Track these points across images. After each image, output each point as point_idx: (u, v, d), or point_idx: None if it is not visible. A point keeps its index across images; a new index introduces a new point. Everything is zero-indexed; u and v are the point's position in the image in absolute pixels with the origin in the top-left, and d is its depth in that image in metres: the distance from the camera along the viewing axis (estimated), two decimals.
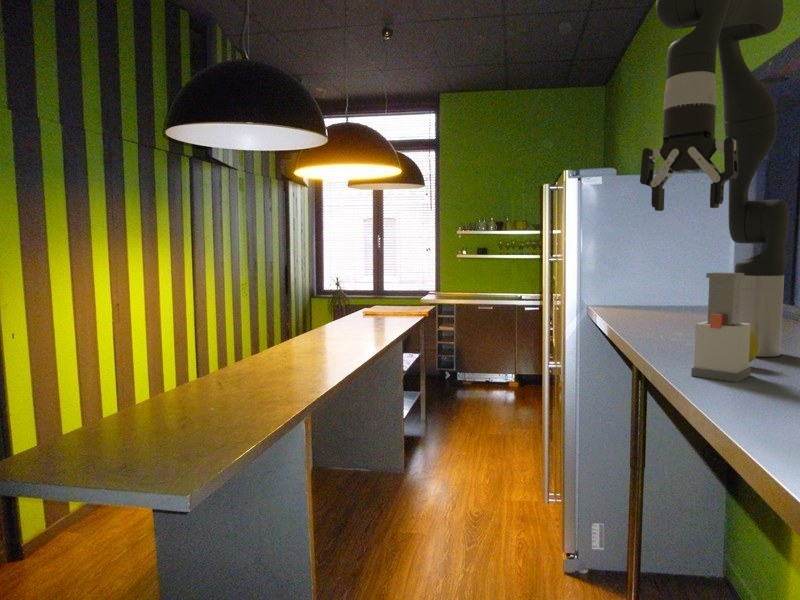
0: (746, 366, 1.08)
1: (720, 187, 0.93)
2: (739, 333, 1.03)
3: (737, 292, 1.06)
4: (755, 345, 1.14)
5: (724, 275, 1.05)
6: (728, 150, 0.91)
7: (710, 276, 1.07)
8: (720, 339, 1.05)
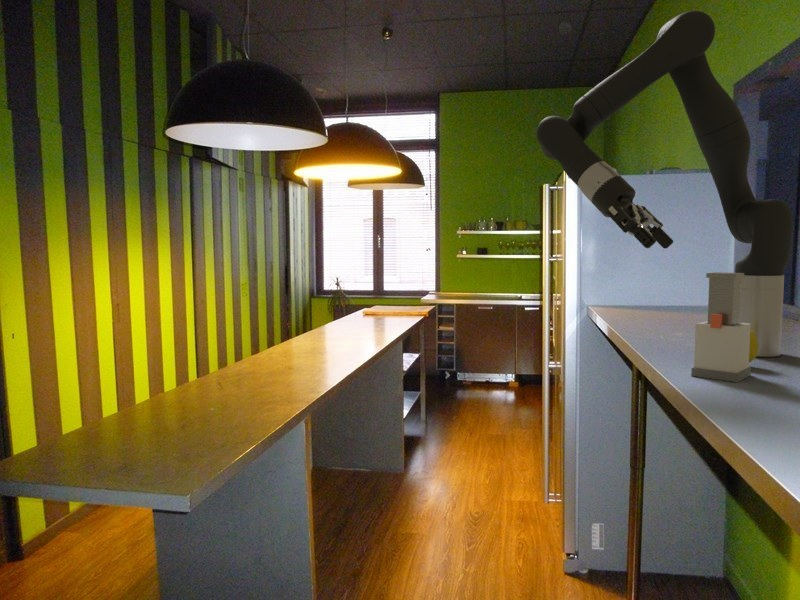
0: (746, 366, 1.08)
1: (636, 236, 1.13)
2: (739, 333, 1.03)
3: (737, 292, 1.06)
4: (755, 345, 1.14)
5: (724, 275, 1.05)
6: None
7: (710, 276, 1.07)
8: (720, 339, 1.05)
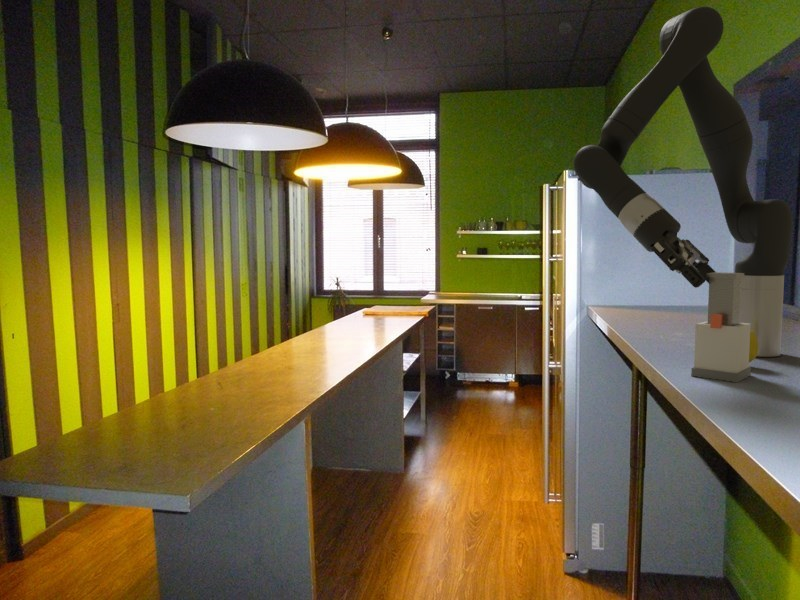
0: (746, 366, 1.08)
1: (684, 274, 1.07)
2: (739, 333, 1.03)
3: (737, 292, 1.06)
4: (755, 345, 1.14)
5: (724, 275, 1.05)
6: None
7: (710, 276, 1.07)
8: (720, 339, 1.05)
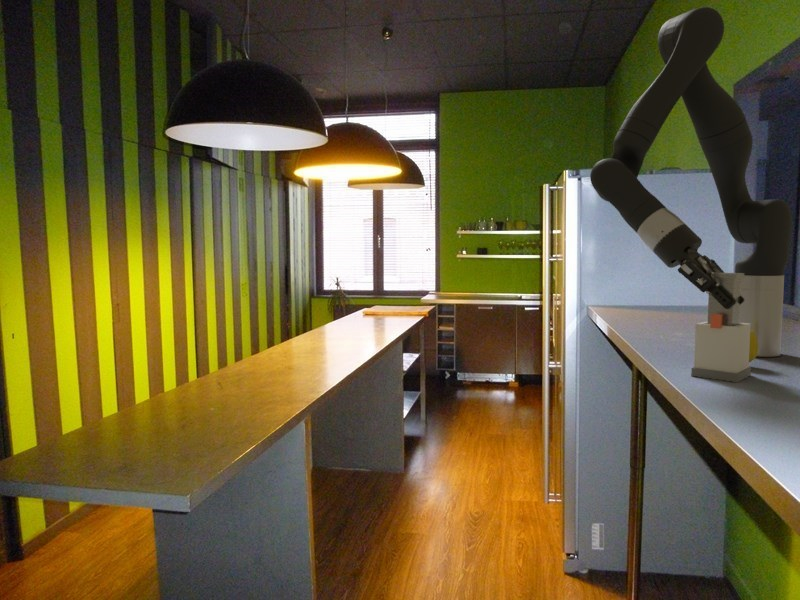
0: (746, 366, 1.08)
1: (714, 295, 1.06)
2: (739, 333, 1.03)
3: (737, 292, 1.06)
4: (755, 345, 1.14)
5: (724, 275, 1.05)
6: None
7: None
8: (720, 339, 1.05)
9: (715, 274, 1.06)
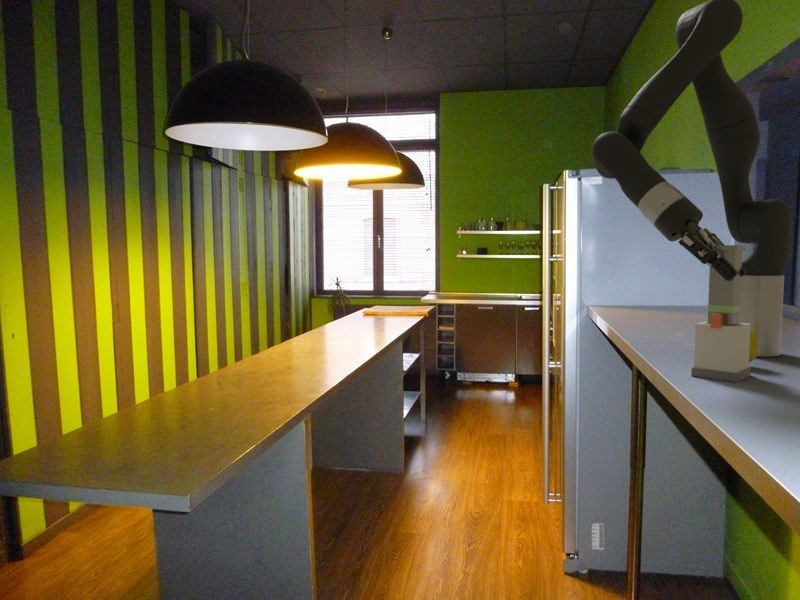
0: (746, 366, 1.08)
1: (716, 267, 1.05)
2: (739, 333, 1.03)
3: (738, 264, 1.06)
4: (755, 345, 1.14)
5: (725, 247, 1.05)
6: None
7: None
8: (720, 339, 1.05)
9: (716, 246, 1.06)
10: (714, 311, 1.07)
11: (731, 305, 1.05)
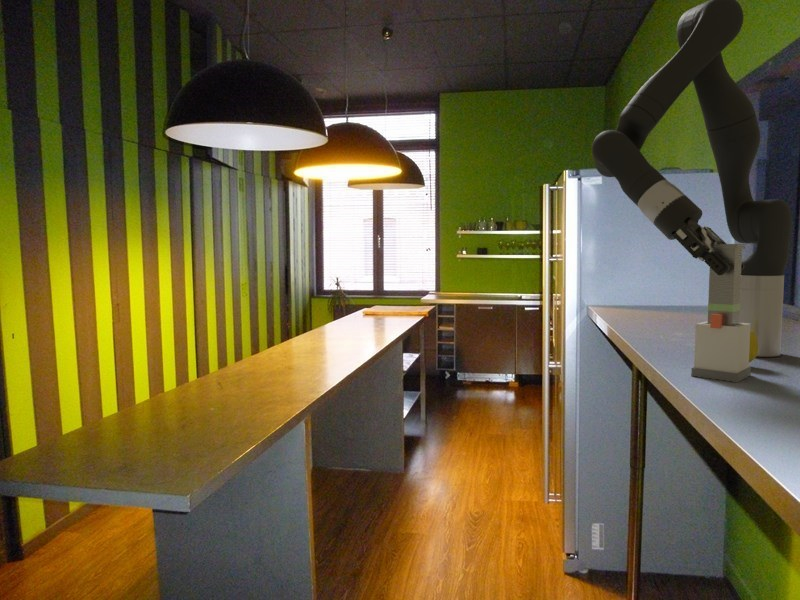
0: (746, 366, 1.08)
1: (707, 261, 1.04)
2: (739, 333, 1.03)
3: (738, 263, 1.06)
4: (755, 345, 1.14)
5: (725, 245, 1.05)
6: None
7: None
8: (720, 339, 1.05)
9: (716, 245, 1.06)
10: (714, 310, 1.07)
11: (731, 304, 1.05)
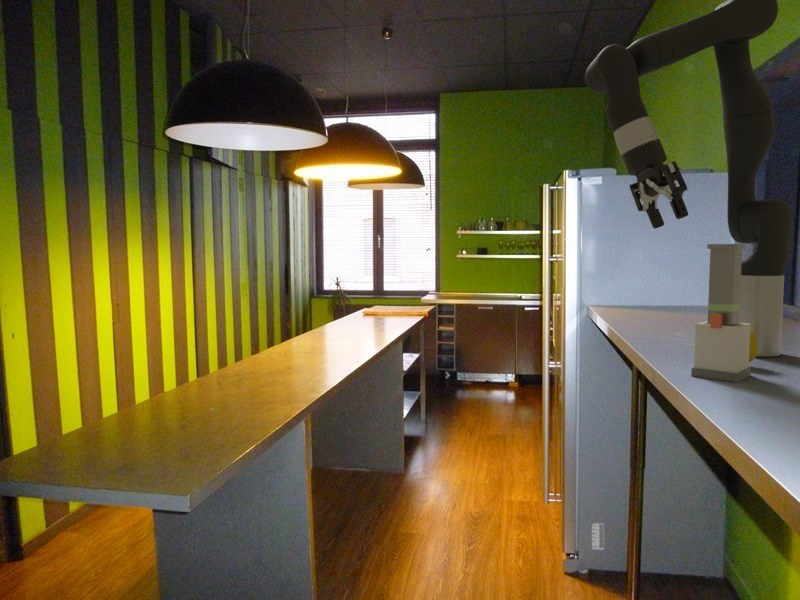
0: (746, 366, 1.08)
1: (676, 202, 1.12)
2: (739, 333, 1.03)
3: (738, 263, 1.06)
4: (755, 345, 1.14)
5: (725, 245, 1.05)
6: (666, 175, 1.11)
7: (711, 247, 1.06)
8: (720, 339, 1.05)
9: (716, 245, 1.06)
10: (714, 310, 1.07)
11: (731, 304, 1.05)
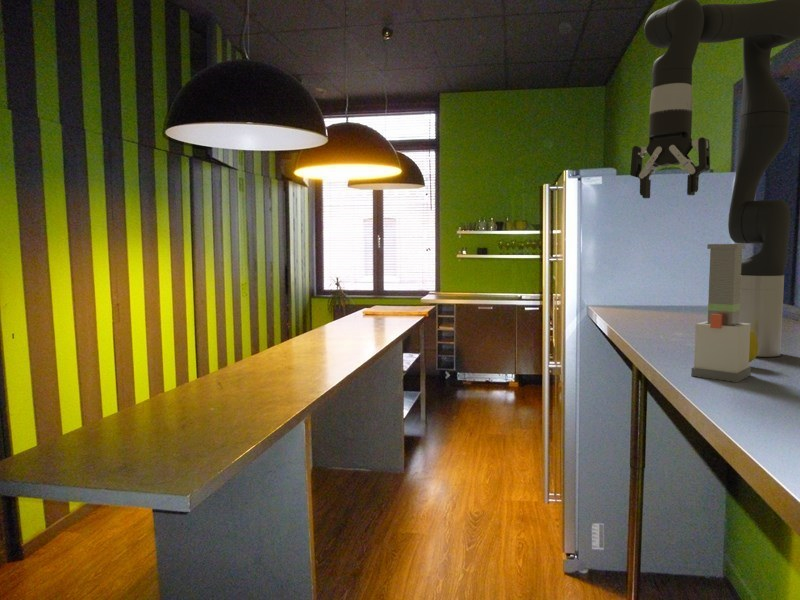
0: (746, 366, 1.08)
1: (695, 178, 1.13)
2: (739, 333, 1.03)
3: (738, 263, 1.06)
4: (755, 345, 1.14)
5: (725, 245, 1.05)
6: (701, 147, 1.11)
7: (711, 247, 1.06)
8: (720, 339, 1.05)
9: (716, 245, 1.06)
10: (714, 310, 1.07)
11: (731, 304, 1.05)
